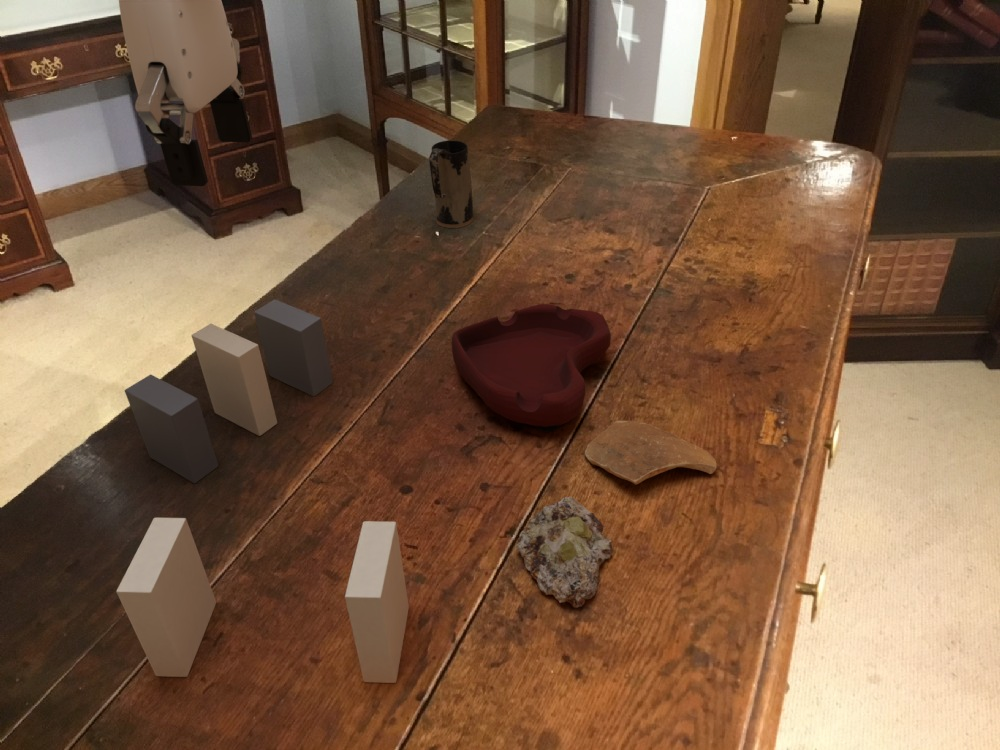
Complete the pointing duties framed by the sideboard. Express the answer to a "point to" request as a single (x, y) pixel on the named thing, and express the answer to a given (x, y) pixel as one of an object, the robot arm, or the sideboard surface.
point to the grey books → (177, 415)
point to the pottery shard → (644, 452)
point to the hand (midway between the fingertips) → (214, 161)
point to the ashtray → (532, 362)
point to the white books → (190, 601)
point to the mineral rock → (565, 551)
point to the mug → (451, 183)
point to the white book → (235, 378)
